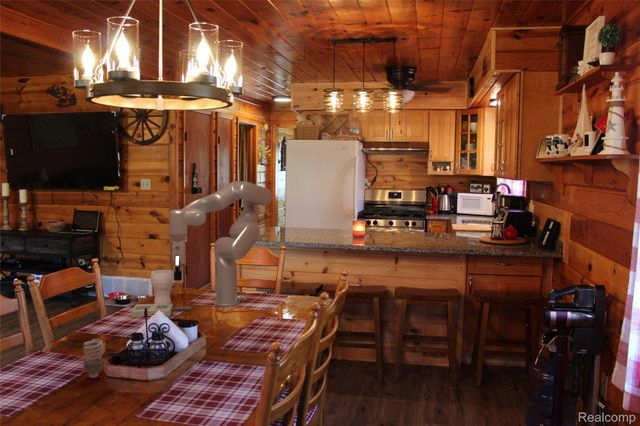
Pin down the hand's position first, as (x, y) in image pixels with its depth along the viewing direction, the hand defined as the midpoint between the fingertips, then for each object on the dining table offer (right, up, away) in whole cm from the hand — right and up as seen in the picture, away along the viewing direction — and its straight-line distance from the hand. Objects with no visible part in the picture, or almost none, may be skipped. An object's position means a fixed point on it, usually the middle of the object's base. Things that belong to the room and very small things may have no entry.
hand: (178, 278), depth 228 cm
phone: (0, -15, +8) cm, 17 cm away
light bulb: (-6, -21, -70) cm, 74 cm away
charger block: (0, -1, 0) cm, 1 cm away
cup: (-13, -14, +19) cm, 27 cm away
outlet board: (-12, -15, +1) cm, 19 cm away
